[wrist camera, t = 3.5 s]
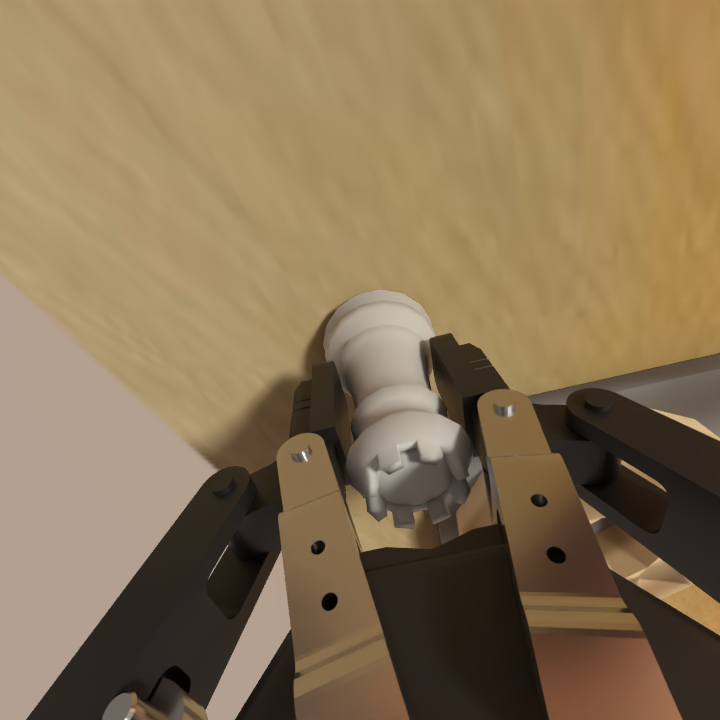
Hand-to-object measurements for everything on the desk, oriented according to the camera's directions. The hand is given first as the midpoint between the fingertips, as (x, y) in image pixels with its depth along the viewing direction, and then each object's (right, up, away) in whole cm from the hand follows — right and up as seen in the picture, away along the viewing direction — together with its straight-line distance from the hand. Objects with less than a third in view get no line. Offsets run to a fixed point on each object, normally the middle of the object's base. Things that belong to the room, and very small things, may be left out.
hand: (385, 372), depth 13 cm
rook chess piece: (0, +1, +2) cm, 3 cm away
